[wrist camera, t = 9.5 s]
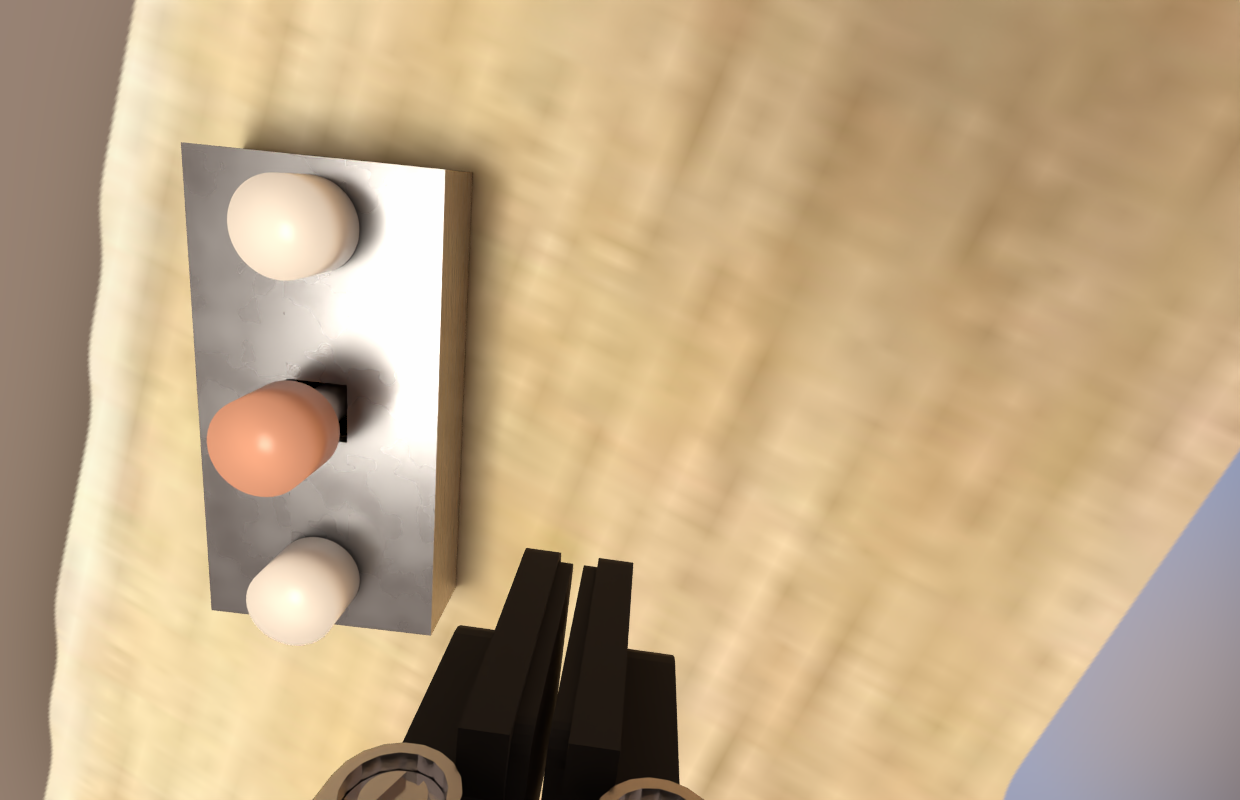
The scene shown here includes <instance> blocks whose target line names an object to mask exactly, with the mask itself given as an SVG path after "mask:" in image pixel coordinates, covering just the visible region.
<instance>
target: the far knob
mask: <svg viewBox="0 0 1240 800" xmlns="http://www.w3.org/2000/svg"><path fill="white" fill-rule="evenodd" d="M359 584H360V576H359V571H358V568H357V565H356V563H355V561H354V559H353V558H352V557H351V555H350V554H349V553H348V551H346V550H345V549H344V548H343V547H341V546H340V545H338V544H337V543H335V542H333V541H330V540H328V539H324V538H319V537H306V538H301V539H298V540H296V541H294V542H292V543H291V544H289V545H288V546H287V547H286V548H285V549H284V550H283V551H282V552H281V553H280V554H279V555H278V556H276V557H275V558H274V559H273V560H272V561H271V562H270V563H269V564H268V565H267V566H266V567H265V568H264V569H263V570H262V571H261V572H260V573H259V574H258V575H257V576H256V577H254V579H253V580H252V581H251V583H250V585H249V587H248V590H247V595H246V604H247V609H248V612H249V615H250V617H251V619H252V620H253V622H254V623H255V625H256V626H257V627H258V628H259V629H260V630H261V631H262V632H263V633H264V634H265V635H267V636H268V637H270V638H271V639H273V640H275V641H278V642H280V643H283V644H287V645H295V646H301V645H308V644H311V643H314V642H316V641H319V640H320V639H322V638H323V637H324V636H325V635H326V634H327V633H328V632H329V631H330V629H331V628H332V627H333V625H334V624H335V623H336V621H337V620H338V619H339V617H340V616H341V615H342V613H343V612H344V611H345V609H346V608H347V607H348V605H349V604H350V603H351V601H352V600H353V599H354V597H355V596H356V594H357V591H358V589H359Z"/></svg>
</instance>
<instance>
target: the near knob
mask: <svg viewBox="0 0 1240 800" xmlns="http://www.w3.org/2000/svg"><path fill="white" fill-rule="evenodd" d="M227 226H228V232H229V236H230V239H231V242H232V244H233V246H234V248H235V250H236V251H237V253H238V255H239V256H240V257H241V258H242V260H243V261H244V262H245V263H246V264H247V265H248V266H249V267H251V268H252V269H253V270H254V271H256V272H258V273H259V274H261V275H263V276H266V277H268V278H271V279H275V280H281V281H290V280H296V279H301V278H305V277H309V276H313V275H317V274H322V273H326V272H330V271H333V270H335V269H337V268H339V267H341V266H342V265H343V264H345V263H346V262H347V261H348V260H349V259H350V257H351V256H352V254H353V253H354V251H355V249H356V246H357V243H358V239H359V220H358V216H357V213H356V210H355V208H354V205H353V203H352V202H351V200H350V198H349V197H348V196H347V194H346V193H345V192H344V191H343V190H342V189H341V188H340V187H339V186H337V185H336V184H335V183H333V182H332V181H330V180H328V179H326V178H324V177H320V176H317V175H311V174H294V173H274V172H269V173H262V174H258V175H255V176H253V177H251V178H249V179H248V180H246V181H245V182H244V183H242V184H241V185H240V186H239V187H238V189H237V190H236V191H235V193H234V194H233V196H232V198H231V201H230V203H229V207H228V213H227Z"/></svg>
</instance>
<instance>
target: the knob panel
mask: <svg viewBox="0 0 1240 800" xmlns="http://www.w3.org/2000/svg"><path fill="white" fill-rule="evenodd" d="M181 150H182V166H183V181H184V196H185V211H186V226H187V242H188V257H189V272H190V287H191V302H192V318H193V333H194V348H195V363H196V379H197V394H198V409H199V424H200V439H201V455H202V470H203V485H204V500H205V515H206V531H207V546H208V561H209V576H210V591H211V607H212V610H216V611H225V612H233V613H242V614H249V612H248V609H247V604H246V595H247V590H248V587H249V585H250V583H251V581H252V580H253V579H254V577H256V576H257V575H258V574H259V573H260V572H261V571H262V570H263V569H264V568H265V567H266V566H267V565H268V564H269V563H270V562H271V561H272V560H273V559H274V558H275V557H276V556H278V555H279V554H280V553H281V552H282V551H283V550H284V549H285V548H286V547H287V546H288V545H289V544H291V543H292V542H294V541H296V540H298V539H301V538H306V537H319V538H324V539H328V540H330V541H333V542H335V543H337V544H338V545H340V546H341V547H343V548H344V549H345V550H346V551H348V553H349V554H350V555H351V557H352V558H353V559H354V561H355V563H356V565H357V568H358V571H359V576H360V584H359V589H358V591H357V594H356V596H355V597H354V599H353V600H352V601H351V603H350V604H349V605H348V607H347V608H346V609H345V611H344V612H343V613H342V615H341V616H340V617H339V619H338V620H337V621H336V623H335V624H336V625H345V626H353V627H362V628H371V629H379V630H388V631H396V632H405V633H414V634H422V635H431V634H432V632H433V631H434V629H435V627H436V625H437V623H438V621H439V619H440V617H441V615H442V613H443V611H444V609H445V607H446V605H447V603H448V601H449V599H450V597H451V595H452V593H453V592H454V590H455V588H456V570H457V545H458V520H459V496H460V471H461V446H462V422H463V397H464V372H465V347H466V323H467V298H468V273H469V249H470V224H471V199H472V174H473V173H471V172H462V171H453V170H444V169H434V168H425V167H415V166H405V165H396V164H386V163H376V162H367V161H357V160H347V159H337V158H328V157H318V156H308V155H299V154H289V153H279V152H270V151H260V150H250V149H240V148H231V147H221V146H211V145H202V144H192V143H182V142H181ZM269 172H274V173H294V174H311V175H317V176H320V177H324V178H326V179H328V180H330V181H332V182H333V183H335V184H336V185H337V186H339V187H340V188H341V189H342V190H343V191H344V192H345V193H346V194H347V196H348V197H349V198H350V200H351V202H352V203H353V205H354V208H355V210H356V213H357V216H358V220H359V239H358V243H357V246H356V249H355V251H354V253H353V254H352V256H351V257H350V259H349V260H348V261H347V262H346V263H345V264H343V265H342V266H341V267H339V268H337V269H335V270H333V271H330V272H326V273H322V274H317V275H313V276H309V277H305V278H301V279H296V280H290V281H281V280H275V279H271V278H268V277H266V276H263V275H261V274H259V273H258V272H256V271H254V270H253V269H252V268H251V267H249V266H248V265H247V264H246V263H245V262H244V261H243V260H242V258H241V257H240V256H239V255H238V253H237V251H236V250H235V248H234V246H233V244H232V242H231V239H230V236H229V232H228V226H227V213H228V207H229V203H230V201H231V198H232V196H233V194H234V193H235V191H236V190H237V189H238V187H239V186H240V185H241V184H242V183H244V182H245V181H246V180H248V179H249V178H251V177H253V176H255V175H258V174H262V173H269ZM284 380H288V381H296V380H305V381H314V382H323V383H332V384H342V385H347V435H340V436H339V442H338V446H337V448H336V450H335V452H334V454H333V455H332V457H331V458H330V459H329V460H328V461H327V462H326V463H324V464H323V465H322V466H321V467H320V468H318V469H317V470H316V471H315V472H313V473H312V474H311V475H310V476H308V477H307V478H306V479H305V480H303V481H302V482H301V483H300V484H299V485H297V486H296V487H295V488H293V489H292V490H291V491H289V492H287V493H285V494H282V495H279V496H274V497H259V496H253V495H250V494H247V493H244V492H242V491H240V490H238V489H236V488H235V487H233V486H232V485H230V484H229V483H228V482H227V481H226V480H225V479H223V477H222V476H221V475H220V474H219V473H218V471H217V470H216V468H215V467H214V465H213V463H212V461H211V459H210V456H209V453H208V448H207V432H208V428H209V425H210V423H211V420H212V419H213V417H214V416H215V414H216V413H217V412H218V411H219V410H220V409H221V408H222V407H224V406H225V405H227V404H229V403H230V402H232V401H235V400H237V399H239V398H241V397H243V396H245V395H247V394H249V393H251V392H253V391H255V390H257V389H259V388H261V387H263V386H265V385H267V384H270V383H272V382H276V381H284Z"/></svg>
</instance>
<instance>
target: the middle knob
mask: <svg viewBox="0 0 1240 800" xmlns="http://www.w3.org/2000/svg"><path fill="white" fill-rule="evenodd" d="M346 415H347V385H342V384H332V383H324V384H322V385H320V386H318V387H317V388H315V389H314V388H312V387H310V386H308V385H306V384H303V383H300V382H296V381H288V380H284V381H276V382H272V383H270V384H267V385H265V386H263V387H261V388H259V389H257V390H255V391H253V392H251V393H249V394H247V395H245V396H243V397H241V398H239V399H237V400H235V401H232V402H230V403H229V404H227V405H225V406H224V407H222V408H221V409H220V410H219V411H218V412H217V413H216V414H215V416H214V417H213V419H212V420H211V423H210V425H209V428H208V432H207V448H208V453H209V456H210V459H211V461H212V463H213V465H214V467H215V468H216V470H217V471H218V473H219V474H220V475H221V476H222V477H223V479H225V480H226V481H227V482H228V483H229V484H230V485H232V486H233V487H235V488H236V489H238V490H240V491H242V492H244V493H247V494H250V495H253V496H259V497H274V496H279V495H282V494H285V493H287V492H289V491H291V490H292V489H293V488H295V487H296V486H297V485H299V484H300V483H301V482H302V481H303V480H305V479H306V478H307V477H308V476H310V475H311V474H312V473H313V472H315V471H316V470H317V469H318V468H320V467H321V466H322V465H323V464H324V463H326V462H327V461H328V460H329V459H330V458H331V457H332V455H333V454H334V452H335V450H336V448H337V446H338V442H339V436H340V428H339V422H338V421H339V420H341V419H342V418H344V417H345V416H346Z"/></svg>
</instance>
